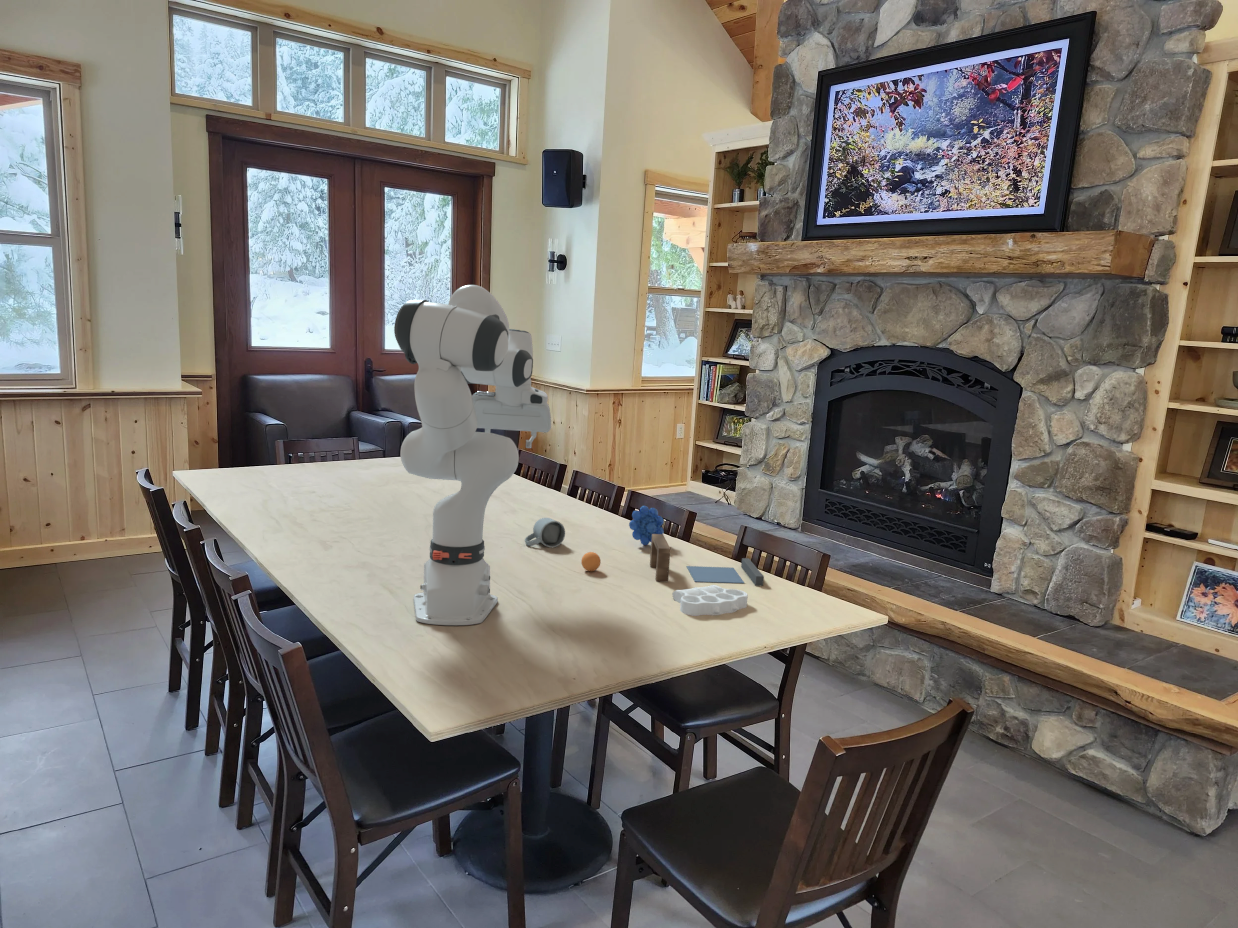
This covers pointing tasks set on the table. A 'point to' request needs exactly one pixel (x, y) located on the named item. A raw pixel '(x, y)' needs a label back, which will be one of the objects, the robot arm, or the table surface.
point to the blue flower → (646, 524)
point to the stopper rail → (752, 572)
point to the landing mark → (714, 574)
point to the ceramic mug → (546, 533)
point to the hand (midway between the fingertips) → (510, 446)
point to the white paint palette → (710, 600)
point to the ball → (591, 561)
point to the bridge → (660, 557)
